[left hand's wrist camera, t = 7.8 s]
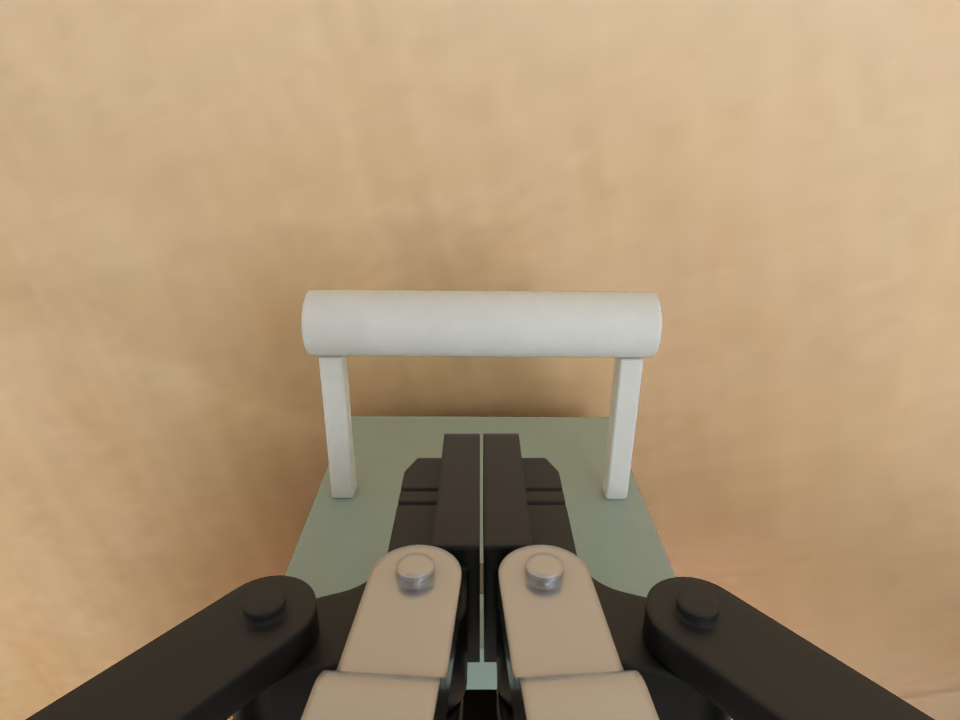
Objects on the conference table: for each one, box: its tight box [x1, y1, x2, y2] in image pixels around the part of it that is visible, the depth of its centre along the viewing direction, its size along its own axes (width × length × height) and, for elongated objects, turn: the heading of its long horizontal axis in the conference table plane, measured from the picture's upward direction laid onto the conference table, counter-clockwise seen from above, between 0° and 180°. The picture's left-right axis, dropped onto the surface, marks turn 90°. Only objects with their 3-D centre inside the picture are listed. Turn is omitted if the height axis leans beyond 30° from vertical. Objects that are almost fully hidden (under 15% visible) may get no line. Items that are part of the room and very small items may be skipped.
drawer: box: [285, 290, 676, 720], centre depth 20 cm, size 25×9×10 cm, turn 0°
